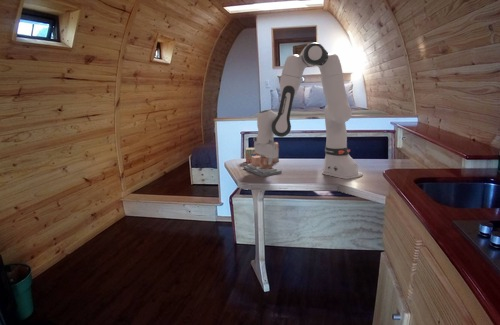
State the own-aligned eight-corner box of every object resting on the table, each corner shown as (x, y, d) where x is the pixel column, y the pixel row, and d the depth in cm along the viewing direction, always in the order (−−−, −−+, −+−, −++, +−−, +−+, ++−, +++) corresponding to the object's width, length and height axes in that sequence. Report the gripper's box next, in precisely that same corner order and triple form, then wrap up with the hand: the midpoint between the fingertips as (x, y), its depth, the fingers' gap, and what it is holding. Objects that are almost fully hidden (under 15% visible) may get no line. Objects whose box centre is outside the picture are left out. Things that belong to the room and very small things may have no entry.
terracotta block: (272, 167, 179) (272, 157, 177) (264, 169, 176) (264, 158, 175) (267, 166, 183) (267, 156, 181) (260, 167, 181) (260, 157, 179)
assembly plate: (281, 173, 178) (281, 160, 176) (262, 176, 172) (261, 163, 170) (261, 165, 197) (261, 153, 195) (243, 168, 191) (242, 156, 189)
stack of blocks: (246, 163, 204) (245, 145, 201) (245, 161, 210) (245, 143, 207) (279, 162, 205) (278, 143, 202) (277, 159, 211) (277, 141, 208)
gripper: (280, 141, 168) (281, 166, 172) (261, 136, 186) (261, 159, 189) (270, 142, 165) (271, 167, 169) (252, 137, 183) (252, 160, 186)
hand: (266, 163), depth 179 cm, fingers closed on terracotta block, 5 cm apart
